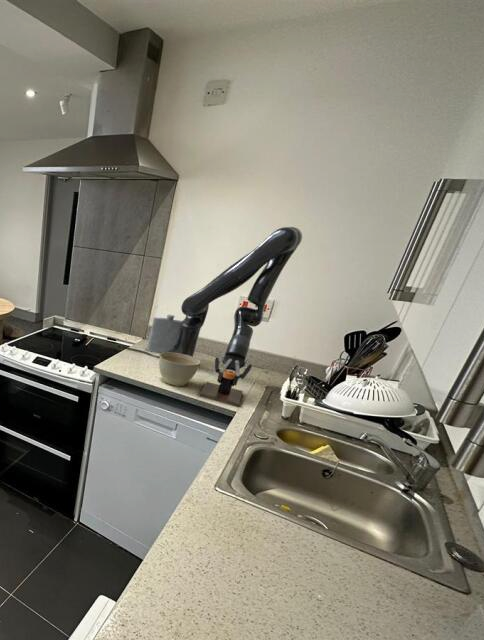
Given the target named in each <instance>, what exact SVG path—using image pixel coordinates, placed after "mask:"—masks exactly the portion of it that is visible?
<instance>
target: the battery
mask: <svg viewBox="0 0 484 640" xmlns="http://www.w3.org/2000/svg"><path fill="white" fill-rule="evenodd" d="M235 375H236V373H235V371H233V370H226V371H224V372H223V376H222V379H221V382H220V383H219V384H218V385H219V389H218V392H219V393H221V394H224V395H229V394H230V391H231V388H232V387H233V386H232V384H233V381H234V378H235Z"/></svg>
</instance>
